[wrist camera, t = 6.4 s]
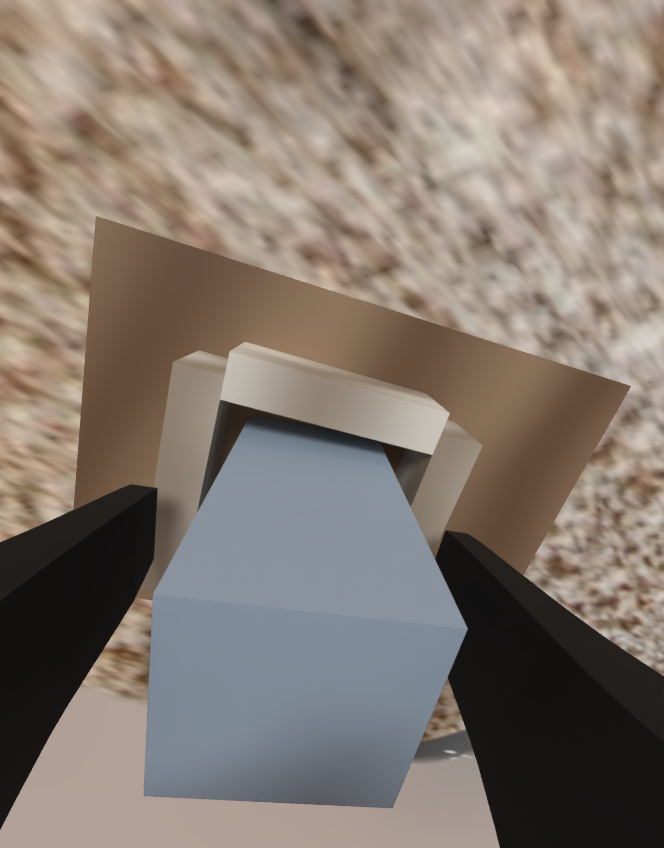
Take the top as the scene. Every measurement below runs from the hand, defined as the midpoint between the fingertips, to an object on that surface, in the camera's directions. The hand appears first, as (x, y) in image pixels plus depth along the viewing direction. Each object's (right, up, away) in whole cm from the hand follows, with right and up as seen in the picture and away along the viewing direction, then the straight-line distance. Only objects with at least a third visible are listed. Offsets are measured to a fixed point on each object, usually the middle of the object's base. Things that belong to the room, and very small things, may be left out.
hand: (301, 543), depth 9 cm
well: (0, +1, +3) cm, 4 cm away
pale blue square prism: (0, +1, +3) cm, 3 cm away
